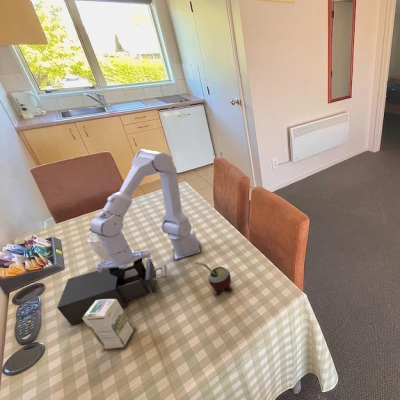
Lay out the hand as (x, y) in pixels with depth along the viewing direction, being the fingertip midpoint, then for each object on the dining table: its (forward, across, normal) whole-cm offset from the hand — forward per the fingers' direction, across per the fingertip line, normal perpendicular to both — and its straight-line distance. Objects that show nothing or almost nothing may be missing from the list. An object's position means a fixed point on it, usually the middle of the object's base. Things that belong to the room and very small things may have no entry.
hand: (134, 278), depth 92 cm
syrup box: (+6, -4, -19) cm, 20 cm away
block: (+1, 0, 0) cm, 1 cm away
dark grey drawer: (+5, +1, 0) cm, 5 cm away
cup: (+6, -11, +24) cm, 27 cm away
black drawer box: (+5, -11, 0) cm, 12 cm away
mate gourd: (+6, +26, -14) cm, 30 cm away
